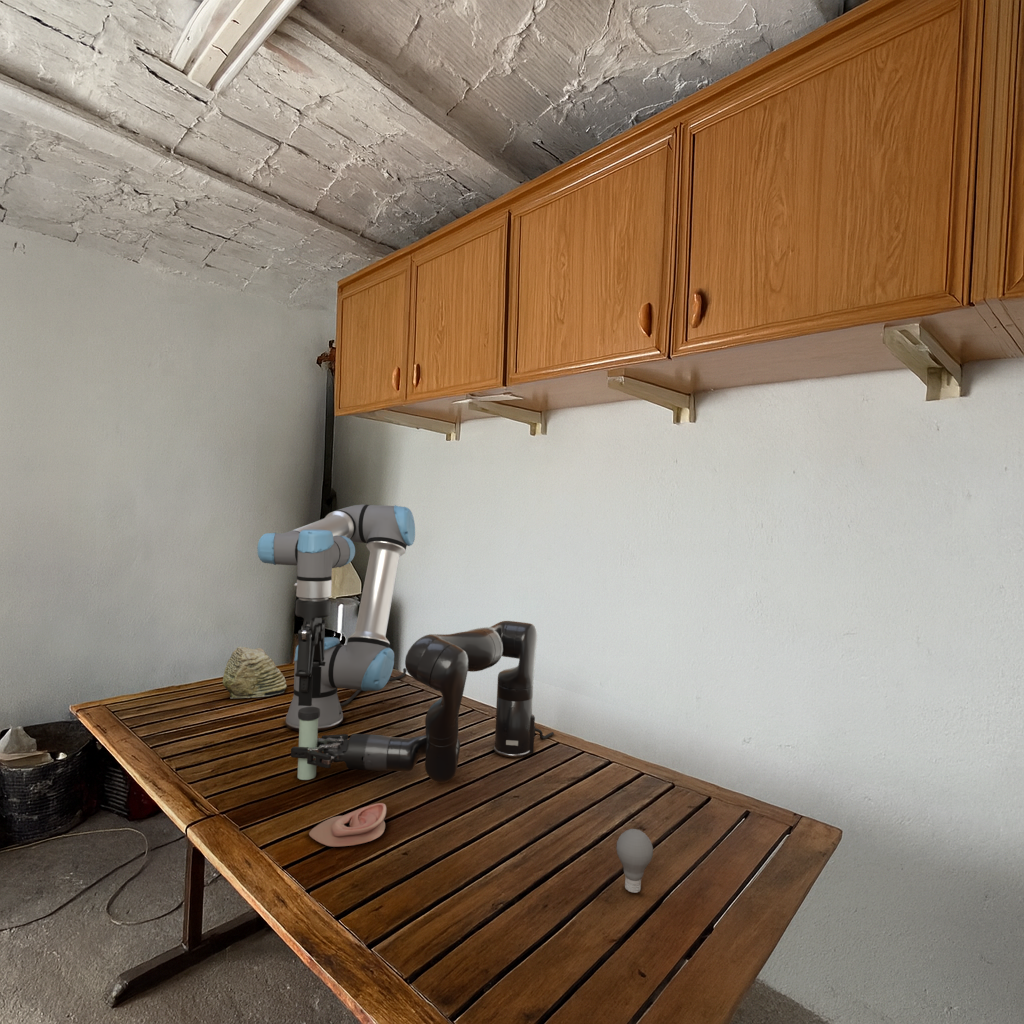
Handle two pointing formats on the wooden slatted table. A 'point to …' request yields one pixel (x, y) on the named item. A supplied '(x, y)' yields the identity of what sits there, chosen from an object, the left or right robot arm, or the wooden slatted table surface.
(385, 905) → the wooden slatted table surface
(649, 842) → the light bulb
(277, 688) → the fossil
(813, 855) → the wooden slatted table surface
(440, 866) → the wooden slatted table surface
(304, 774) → the bottle
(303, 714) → the lid
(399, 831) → the wooden slatted table surface
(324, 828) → the anatomical model
